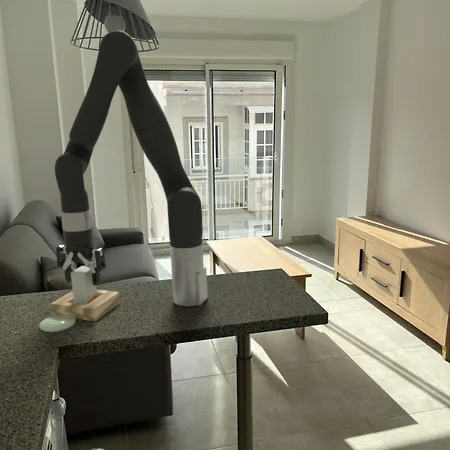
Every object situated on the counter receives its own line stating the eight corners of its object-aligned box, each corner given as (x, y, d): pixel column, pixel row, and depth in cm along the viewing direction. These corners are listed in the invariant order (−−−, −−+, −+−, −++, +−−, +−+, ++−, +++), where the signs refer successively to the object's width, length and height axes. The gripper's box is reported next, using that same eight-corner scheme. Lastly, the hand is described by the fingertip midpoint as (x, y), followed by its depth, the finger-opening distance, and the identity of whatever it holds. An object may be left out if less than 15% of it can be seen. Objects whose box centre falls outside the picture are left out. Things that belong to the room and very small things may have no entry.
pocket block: (120, 303, 128) (118, 292, 127) (95, 321, 117) (94, 309, 116) (79, 298, 132) (78, 287, 132) (52, 315, 121) (50, 303, 121)
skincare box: (88, 314, 121) (84, 273, 118) (74, 313, 122) (69, 272, 119) (99, 305, 127) (94, 266, 124) (85, 304, 128) (81, 265, 125)
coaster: (82, 318, 119) (82, 316, 119) (60, 334, 111) (60, 331, 110) (55, 314, 122) (55, 312, 122) (31, 329, 113) (31, 327, 113)
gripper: (107, 225, 120) (112, 281, 124) (64, 222, 124) (70, 276, 128) (91, 232, 113) (96, 290, 117) (46, 228, 118) (52, 285, 121)
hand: (82, 283), depth 123 cm, fingers open, 8 cm apart
